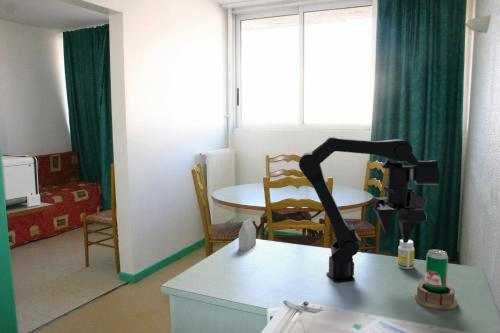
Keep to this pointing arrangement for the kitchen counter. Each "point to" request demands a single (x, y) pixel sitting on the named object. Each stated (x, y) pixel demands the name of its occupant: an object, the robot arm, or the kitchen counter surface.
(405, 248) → the supplement bottle
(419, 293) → the holder
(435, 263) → the soda can
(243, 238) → the grey pointed block
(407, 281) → the kitchen counter surface
